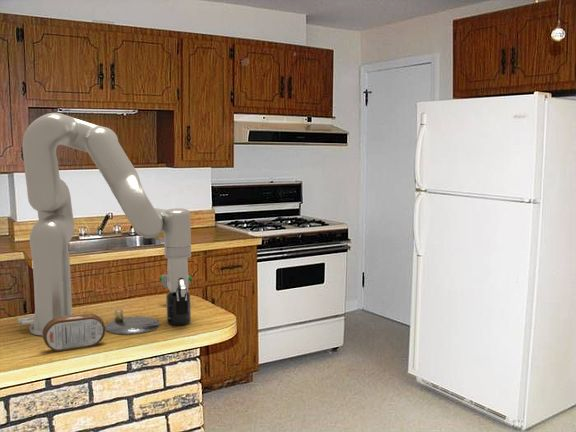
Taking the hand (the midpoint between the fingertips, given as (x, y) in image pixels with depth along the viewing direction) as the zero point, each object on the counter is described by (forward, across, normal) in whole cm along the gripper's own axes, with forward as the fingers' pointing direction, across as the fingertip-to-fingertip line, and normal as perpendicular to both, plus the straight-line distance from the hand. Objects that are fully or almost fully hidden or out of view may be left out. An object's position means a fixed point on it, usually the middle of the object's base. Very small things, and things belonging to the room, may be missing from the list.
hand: (179, 309), depth 169 cm
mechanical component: (+4, -19, +2) cm, 20 cm away
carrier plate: (+4, -1, -13) cm, 14 cm away
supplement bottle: (+4, 0, 0) cm, 4 cm away
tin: (+4, +13, -28) cm, 31 cm away
